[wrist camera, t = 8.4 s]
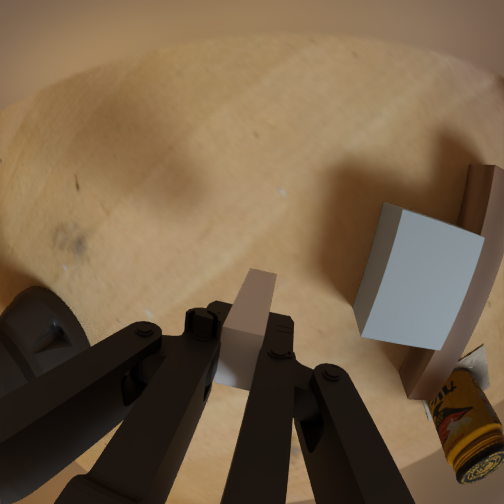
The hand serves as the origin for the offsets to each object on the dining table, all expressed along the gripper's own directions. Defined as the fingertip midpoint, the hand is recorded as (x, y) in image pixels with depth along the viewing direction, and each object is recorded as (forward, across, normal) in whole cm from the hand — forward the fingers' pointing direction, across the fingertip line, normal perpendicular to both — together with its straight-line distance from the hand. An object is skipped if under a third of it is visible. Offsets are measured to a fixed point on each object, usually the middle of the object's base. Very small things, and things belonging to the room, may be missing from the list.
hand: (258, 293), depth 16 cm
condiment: (+7, +23, -10) cm, 26 cm away
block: (+7, +11, +2) cm, 13 cm away
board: (+7, +16, +2) cm, 18 cm away
